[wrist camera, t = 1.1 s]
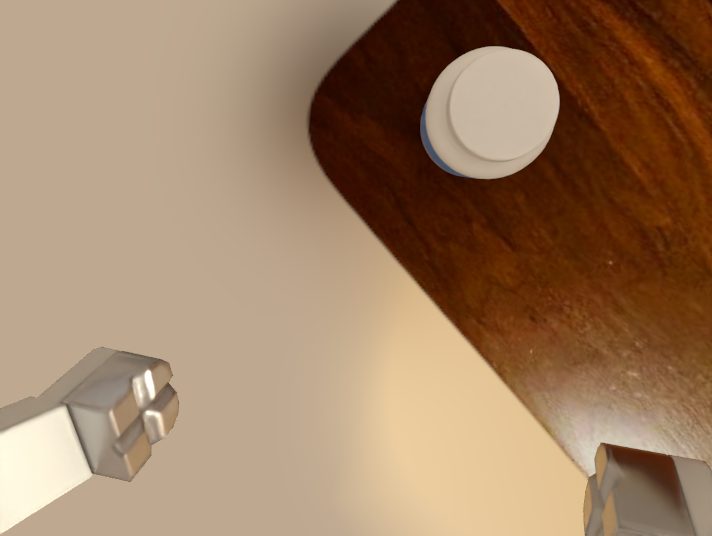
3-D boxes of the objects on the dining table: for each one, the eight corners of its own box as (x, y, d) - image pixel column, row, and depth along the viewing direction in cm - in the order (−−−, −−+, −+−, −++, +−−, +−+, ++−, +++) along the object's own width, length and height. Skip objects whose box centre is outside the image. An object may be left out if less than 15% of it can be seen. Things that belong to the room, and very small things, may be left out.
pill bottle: (491, 192, 29) (533, 208, 20) (403, 152, 29) (403, 147, 20) (539, 98, 28) (607, 67, 19) (447, 56, 28) (469, 3, 19)
